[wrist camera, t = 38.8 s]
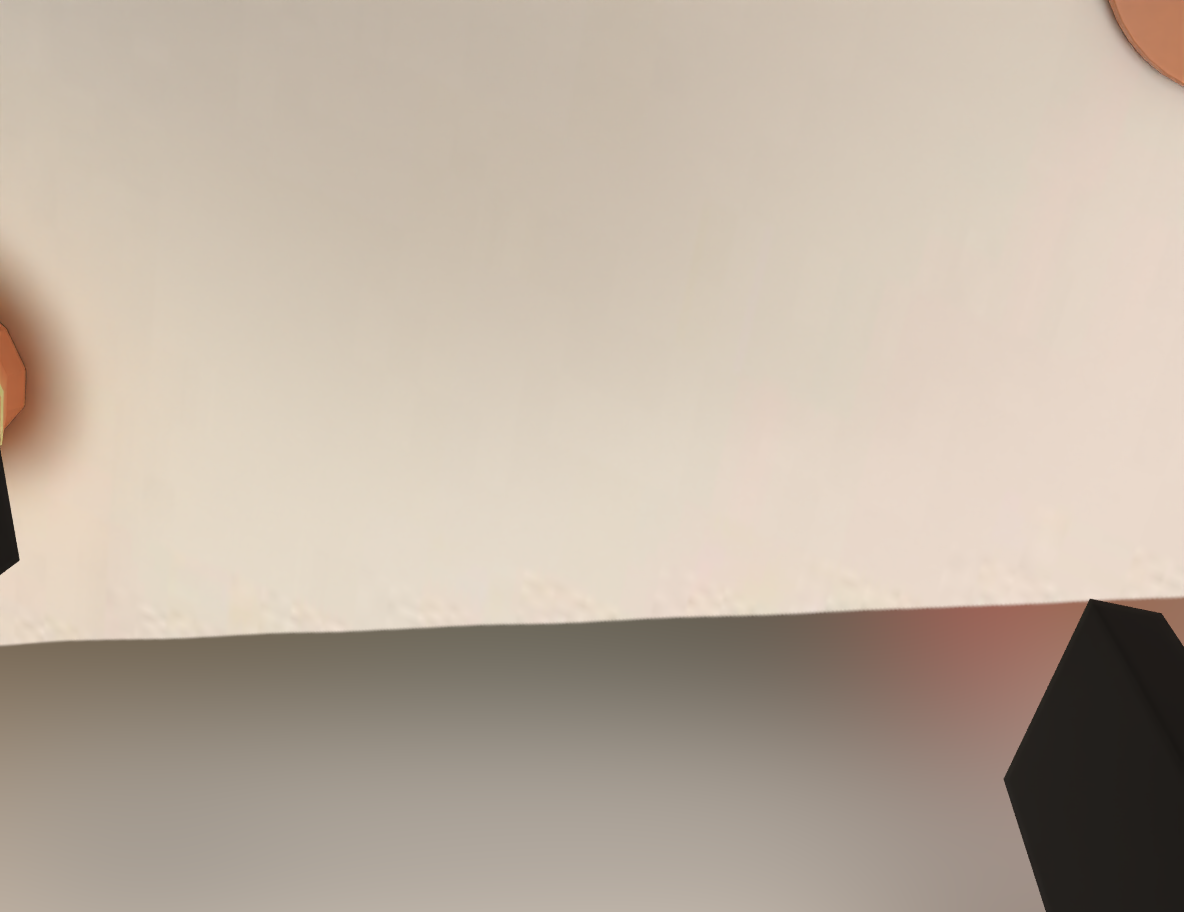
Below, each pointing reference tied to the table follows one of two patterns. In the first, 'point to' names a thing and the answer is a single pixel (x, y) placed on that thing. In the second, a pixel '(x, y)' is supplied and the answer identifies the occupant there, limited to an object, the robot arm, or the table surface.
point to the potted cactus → (10, 381)
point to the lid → (1155, 32)
